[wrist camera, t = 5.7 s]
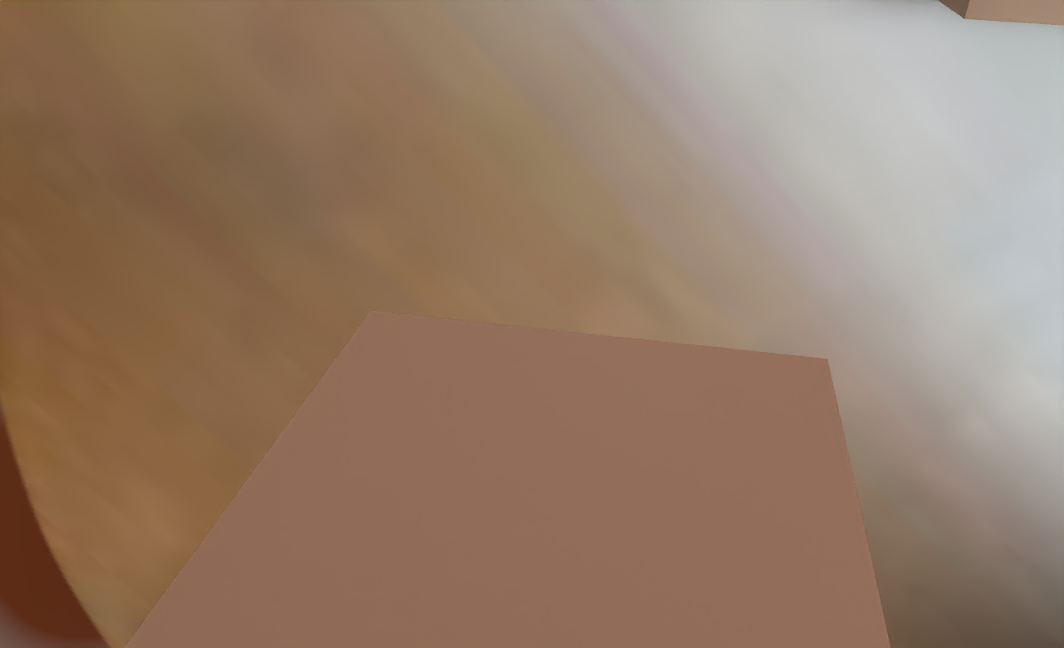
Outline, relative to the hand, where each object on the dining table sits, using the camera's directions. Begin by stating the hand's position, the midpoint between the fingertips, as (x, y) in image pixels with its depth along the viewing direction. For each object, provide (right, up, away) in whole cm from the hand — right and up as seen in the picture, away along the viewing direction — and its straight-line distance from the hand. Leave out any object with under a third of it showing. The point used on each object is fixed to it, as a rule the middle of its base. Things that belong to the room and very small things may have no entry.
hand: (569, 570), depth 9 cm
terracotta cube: (0, +1, +1) cm, 1 cm away
